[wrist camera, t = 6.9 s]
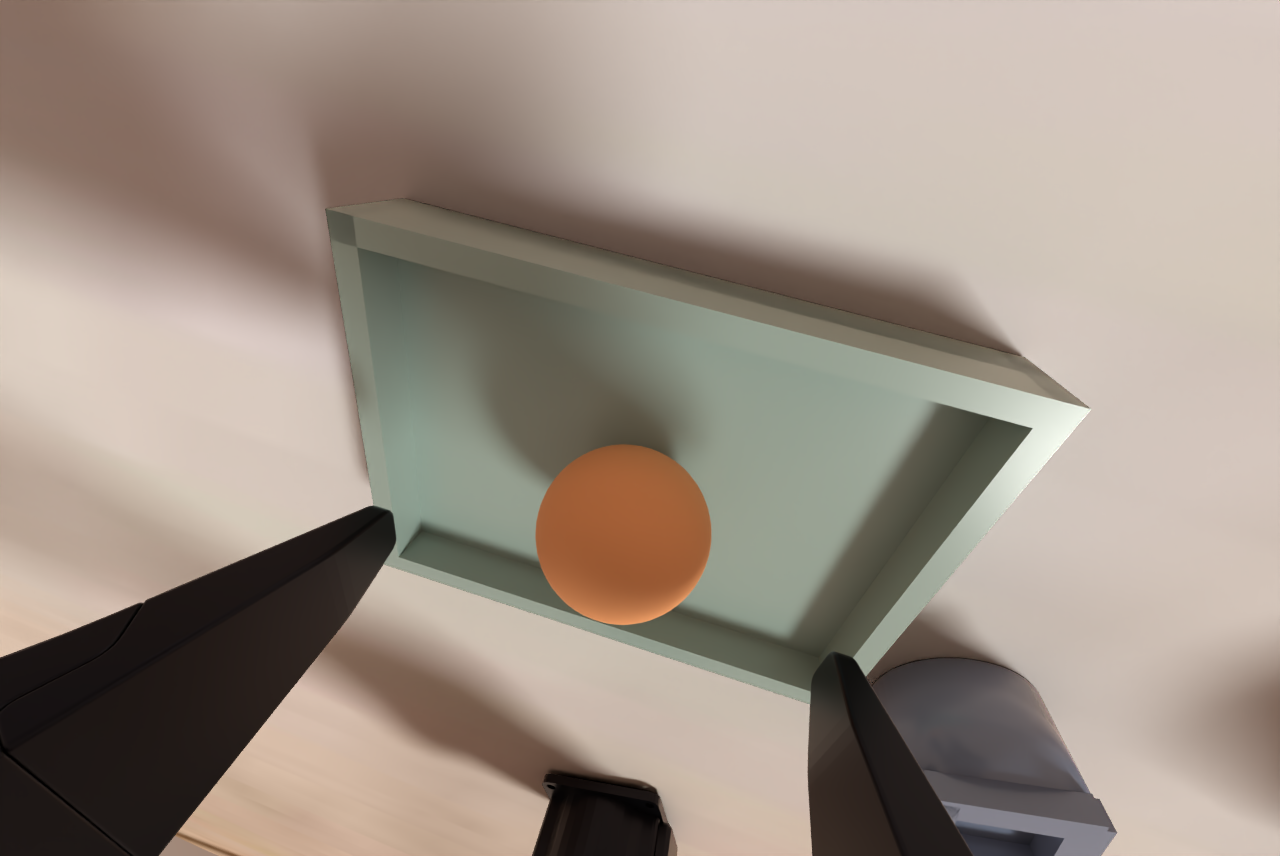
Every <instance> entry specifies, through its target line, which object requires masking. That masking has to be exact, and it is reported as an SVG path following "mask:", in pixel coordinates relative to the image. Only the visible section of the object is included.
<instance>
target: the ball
mask: <svg viewBox="0 0 1280 856" xmlns="http://www.w3.org/2000/svg"><path fill="white" fill-rule="evenodd" d="M535 539H536V549H537V555H538V558H539V562H540V565H541V568H542V571H543V573H544V575H545V577H546V579H547V581H548V582H549V584H550V586H551V587H552V589H553V590H554V591H555V592H556V594H557V595H558V596H559V597H560V598H561V599H562V600H563V601H564V602H565V603H566V604H567V605H568V606H570V607H571V608H572V609H574V610H575V611H577V612H579V613H580V614H582V615H584V616H586V617H588V618H591V619H593V620H596V621H600V622H603V623H608V624H615V625H630V624H637V623H643V622H647V621H650V620H652V619H655V618H657V617H659V616H662V615H664V614H666V613H667V612H669V611H670V610H672V609H673V608H675V607H676V606H677V605H679V604H680V603H681V602H682V601H683V600H684V599H685V598H686V597H687V596H688V595H689V594H690V593H691V591H692V590H693V589H694V587H695V586H696V584H697V583H698V581H699V579H700V578H701V576H702V574H703V572H704V569H705V567H706V564H707V561H708V558H709V553H710V547H711V520H710V515H709V510H708V507H707V504H706V501H705V499H704V496H703V494H702V492H701V490H700V488H699V487H698V485H697V484H696V482H695V481H694V480H693V478H692V477H691V476H690V474H689V473H688V472H687V471H686V470H685V469H684V468H683V467H682V466H681V465H679V464H678V463H677V462H676V461H674V460H673V459H671V458H670V457H668V456H666V455H664V454H662V453H660V452H658V451H656V450H653V449H650V448H647V447H643V446H637V445H628V444H619V445H610V446H606V447H601V448H598V449H595V450H592V451H590V452H588V453H586V454H584V455H582V456H580V457H578V458H577V459H575V460H574V461H572V462H571V463H570V464H569V465H567V466H566V467H565V468H564V469H563V470H562V471H561V472H560V473H559V474H558V475H557V477H556V478H555V479H554V481H553V482H552V483H551V485H550V486H549V488H548V489H547V491H546V494H545V496H544V498H543V500H542V502H541V505H540V508H539V512H538V516H537V521H536V534H535Z"/></svg>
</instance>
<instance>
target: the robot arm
mask: <svg viewBox="0 0 1280 856" xmlns="http://www.w3.org/2000/svg"><path fill="white" fill-rule="evenodd" d="M395 544H396V530H395V523H394V516H393V513H392V512H391V511H390V510H388V509H384V508H381V507H378V506H368V507H366V508H363V509H361V510H359V511H356V512H354V513H351V514H349V515H347V516H344V517H342V518H340V519H337V520H335V521H332V522H330V523H328V524H325V525H323V526H321V527H318V528H316V529H313V530H311V531H309V532H306V533H304V534H302V535H299V536H297V537H294V538H292V539H290V540H287V541H285V542H283V543H280V544H278V545H275V546H273V547H271V548H268V549H266V550H264V551H261V552H259V553H256V554H254V555H252V556H249V557H247V558H245V559H242V560H240V561H237V562H235V563H233V564H230V565H228V566H226V567H223V568H221V569H218V570H216V571H214V572H211V573H209V574H207V575H204V576H202V577H199V578H197V579H195V580H192V581H190V582H188V583H185V584H183V585H180V586H178V587H176V588H173V589H171V590H169V591H166V592H164V593H161V594H159V595H157V596H154V597H152V598H150V599H147V600H146V601H145V602H144V603H137V604H135V605H133V606H130V607H128V608H125V609H123V610H121V611H118V612H116V613H114V614H111V615H109V616H106V617H104V618H101V619H99V620H96V621H94V622H92V623H89V624H87V625H84V626H82V627H79V628H77V629H74V630H72V631H69V632H67V633H64V634H62V635H59V636H56V637H54V638H51V639H48V640H46V641H43V642H41V643H38V644H35V645H33V646H30V647H27V648H25V649H22V650H19V651H17V652H14V653H11V654H9V655H6V656H3V657H0V856H159V855H160V853H161V852H162V851H163V850H164V848H165V847H166V846H167V845H168V843H169V842H170V841H171V840H172V838H173V837H174V836H175V835H176V833H177V832H178V831H179V830H180V828H181V827H182V826H183V825H184V823H185V822H186V821H187V820H188V818H189V817H190V816H191V815H192V813H193V812H194V811H195V810H196V808H197V807H198V806H199V805H200V803H201V802H202V801H203V800H204V798H205V797H206V796H207V795H208V793H209V792H210V791H211V789H212V788H213V787H214V786H215V784H216V783H217V782H218V781H219V779H220V778H221V777H222V776H223V774H224V773H225V772H226V771H227V769H228V768H229V767H230V766H231V764H232V763H233V762H234V761H235V759H236V758H237V757H238V756H239V754H240V753H241V752H242V751H243V749H244V748H245V747H246V746H247V744H248V743H249V742H250V741H251V739H252V738H253V737H254V736H255V734H256V733H257V732H258V731H259V729H260V728H261V727H262V726H263V724H264V723H265V722H266V721H267V719H268V718H269V717H270V716H271V714H272V713H273V712H274V710H275V709H276V708H277V707H278V705H279V704H280V703H281V702H282V700H283V699H284V698H285V697H286V695H287V694H288V693H289V692H290V690H291V689H292V688H293V687H294V685H295V684H296V683H297V682H298V680H299V679H300V678H301V677H302V675H303V674H304V673H305V672H306V670H307V669H308V668H309V667H310V665H311V664H312V663H313V662H314V660H315V659H316V658H317V657H318V655H319V654H320V653H321V652H322V650H323V649H324V648H325V647H326V645H327V644H328V643H329V642H330V640H331V639H332V638H333V636H334V635H335V634H336V633H337V631H338V630H339V629H340V628H341V626H342V625H343V624H344V623H345V621H346V620H347V619H348V617H349V616H350V615H351V613H352V612H353V610H354V609H355V607H356V606H357V604H358V603H359V601H360V600H361V598H362V597H363V595H364V594H365V592H366V590H367V589H368V587H369V586H370V584H371V583H372V581H373V580H374V578H375V577H376V575H377V573H378V572H379V570H380V569H381V567H382V566H383V564H384V563H385V561H386V560H387V558H388V557H389V555H390V553H391V552H392V550H393V549H394V546H395ZM542 785H543V787H544V789H545V791H546V793H547V795H548V797H549V799H550V802H549V805H548V808H547V811H546V814H545V817H544V820H543V823H542V826H541V829H540V833H539V836H538V839H537V842H536V845H535V848H534V851H533V854H532V856H677V845H676V841H675V838H674V835H673V831H672V828H671V827H670V825H669V823H668V822H667V819H666V815H665V812H664V809H663V805H662V802H661V799H660V797H659V796H658V795H657V794H655V793H653V792H649V791H643V790H638V789H632V788H627V787H621V786H616V785H610V784H604V783H599V782H593V781H588V780H582V779H577V778H571V777H566V776H560V775H554V774H546V775H545V777H544V780H543V783H542ZM808 791H809V807H810V823H811V839H812V855H813V856H974V855H973V853H972V852H971V850H970V848H969V847H968V845H967V843H966V842H965V840H964V838H963V837H962V835H961V833H960V832H959V830H958V829H957V827H956V825H955V824H954V822H953V820H952V819H951V817H950V815H949V814H948V812H947V810H946V809H945V807H944V805H943V804H942V802H941V800H940V799H939V797H938V795H937V794H936V792H935V790H934V789H933V787H932V785H931V784H930V782H929V780H928V779H927V777H926V775H925V774H924V772H923V771H922V769H921V767H920V766H919V764H918V762H917V761H916V759H915V757H914V756H913V754H912V752H911V751H910V749H909V747H908V746H907V744H906V742H905V741H904V739H903V737H902V736H901V734H900V732H899V731H898V729H897V727H896V726H895V724H894V722H893V721H892V719H891V717H890V716H889V714H888V713H887V711H886V709H885V708H884V706H883V704H882V703H881V701H880V699H879V698H878V696H877V694H876V693H875V691H874V689H873V688H872V686H871V684H870V683H869V681H868V679H867V678H866V676H865V674H864V673H863V671H862V669H861V668H860V666H859V664H858V663H857V661H856V660H855V659H854V658H852V657H851V656H848V655H845V654H842V653H839V652H835V651H832V652H829V653H828V655H827V656H826V657H825V659H824V660H823V661H822V663H821V664H820V666H819V667H818V668H817V670H816V671H815V673H814V675H813V677H812V681H811V695H810V719H809V743H808Z"/></svg>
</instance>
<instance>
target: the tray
mask: <svg viewBox="0 0 1280 856" xmlns="http://www.w3.org/2000/svg"><path fill="white" fill-rule="evenodd" d="M325 210H326V216H327V222H328V228H329V234H330V241H331V247H332V253H333V259H334V265H335V271H336V277H337V284H338V290H339V296H340V302H341V308H342V314H343V320H344V327H345V333H346V339H347V345H348V351H349V357H350V364H351V370H352V376H353V382H354V388H355V394H356V400H357V407H358V413H359V419H360V425H361V431H362V437H363V443H364V450H365V456H366V462H367V468H368V474H369V480H370V487H371V493H372V499H373V505H374V506H378V507H381V508H384V509H388V510H390V511H391V512H392V513H393V516H394V523H395V530H396V544H395V546H394V549H393V550H392V552H391V553H390V555H389V557H388V558H387V560H386V561H385V563H384V565H387V566H390V567H393V568H396V569H400V570H403V571H406V572H409V573H412V574H415V575H418V576H421V577H424V578H427V579H430V580H433V581H436V582H439V583H442V584H445V585H448V586H451V587H454V588H457V589H460V590H463V591H466V592H470V593H473V594H476V595H479V596H482V597H485V598H488V599H491V600H494V601H497V602H500V603H503V604H506V605H509V606H512V607H515V608H518V609H521V610H524V611H527V612H530V613H533V614H536V615H540V616H543V617H546V618H549V619H552V620H555V621H558V622H561V623H564V624H567V625H570V626H573V627H576V628H579V629H582V630H585V631H588V632H591V633H594V634H597V635H600V636H603V637H606V638H610V639H613V640H616V641H619V642H622V643H625V644H628V645H631V646H634V647H637V648H640V649H643V650H646V651H649V652H652V653H655V654H658V655H661V656H664V657H667V658H670V659H673V660H676V661H680V662H683V663H686V664H689V665H692V666H695V667H698V668H701V669H704V670H707V671H710V672H713V673H716V674H719V675H722V676H725V677H728V678H731V679H734V680H737V681H740V682H743V683H746V684H750V685H753V686H756V687H759V688H762V689H765V690H768V691H771V692H774V693H777V694H780V695H783V696H786V697H789V698H792V699H795V700H798V701H801V702H804V703H807V704H810V695H811V681H812V677H813V675H814V673H815V671H816V670H817V668H818V667H819V666H820V664H821V663H822V661H823V660H824V659H825V657H826V656H827V655H828V653H829V652H832V651H835V652H839V653H842V654H845V655H848V656H851V657H852V658H854V659H855V660H856V661H857V663H858V664H859V666H860V668H861V669H862V671H863V673H864V674H865V676H867V674H868V673H869V672H870V671H871V670H872V669H873V667H874V666H875V665H876V664H877V663H878V661H879V660H880V659H881V658H882V657H883V656H884V654H885V653H886V652H887V651H888V650H889V648H890V647H891V646H892V645H893V644H894V643H895V641H896V640H897V639H898V638H899V637H900V635H901V634H902V633H903V632H904V631H905V629H906V628H907V627H908V626H909V625H910V624H911V622H912V621H913V620H914V619H915V618H916V616H917V615H918V614H919V613H920V612H921V611H922V609H923V608H924V607H925V606H926V605H927V603H928V602H929V601H930V600H931V599H932V598H933V596H934V595H935V594H936V593H937V592H938V590H939V589H940V588H941V587H942V586H943V584H944V583H945V582H946V581H947V580H948V579H949V577H950V576H951V575H952V574H953V573H954V571H955V570H956V569H957V568H958V567H959V566H960V564H961V563H962V562H963V561H964V560H965V558H966V557H967V556H968V555H969V554H970V553H971V551H972V550H973V549H974V548H975V547H976V545H977V544H978V543H979V542H980V541H981V539H982V538H983V537H984V536H985V535H986V534H987V532H988V531H989V530H990V529H991V528H992V526H993V525H994V524H995V523H996V522H997V521H998V519H999V518H1000V517H1001V516H1002V515H1003V513H1004V512H1005V511H1006V510H1007V509H1008V508H1009V506H1010V505H1011V504H1012V503H1013V502H1014V500H1015V499H1016V498H1017V497H1018V496H1019V495H1020V493H1021V492H1022V491H1023V490H1024V489H1025V487H1026V486H1027V485H1028V484H1029V483H1030V481H1031V480H1032V479H1033V478H1034V477H1035V476H1036V474H1037V473H1038V472H1039V471H1040V470H1041V468H1042V467H1043V466H1044V465H1045V464H1046V463H1047V461H1048V460H1049V459H1050V458H1051V457H1052V455H1053V454H1054V453H1055V452H1056V451H1057V450H1058V448H1059V447H1060V446H1061V445H1062V444H1063V442H1064V441H1065V440H1066V439H1067V438H1068V436H1069V435H1070V434H1071V433H1072V432H1073V431H1074V429H1075V428H1076V427H1077V426H1078V425H1079V423H1080V422H1081V421H1082V420H1083V419H1084V418H1085V416H1086V415H1087V414H1088V413H1089V412H1090V410H1091V409H1090V408H1089V407H1088V406H1087V405H1085V404H1084V403H1083V402H1081V401H1080V400H1079V399H1078V398H1076V397H1075V396H1074V395H1073V394H1071V393H1070V392H1069V391H1067V390H1066V389H1065V388H1064V387H1062V386H1061V385H1060V384H1058V383H1057V382H1056V381H1055V380H1053V379H1052V378H1051V377H1049V376H1048V375H1047V374H1046V373H1044V372H1043V371H1042V370H1040V369H1039V368H1038V367H1037V366H1035V365H1034V364H1033V363H1032V362H1030V361H1029V360H1028V359H1026V358H1025V357H1022V356H1018V355H1014V354H1010V353H1006V352H1002V351H998V350H994V349H991V348H987V347H983V346H979V345H975V344H971V343H967V342H963V341H959V340H955V339H951V338H948V337H944V336H940V335H936V334H932V333H928V332H924V331H920V330H916V329H912V328H908V327H905V326H901V325H897V324H893V323H889V322H885V321H881V320H877V319H873V318H869V317H866V316H862V315H858V314H854V313H850V312H846V311H842V310H838V309H834V308H830V307H826V306H823V305H819V304H815V303H811V302H807V301H803V300H799V299H795V298H791V297H787V296H783V295H780V294H776V293H772V292H768V291H764V290H760V289H756V288H752V287H748V286H744V285H740V284H737V283H733V282H729V281H725V280H721V279H717V278H713V277H709V276H705V275H701V274H697V273H694V272H690V271H686V270H682V269H678V268H674V267H670V266H666V265H662V264H658V263H655V262H651V261H647V260H643V259H639V258H635V257H631V256H627V255H623V254H619V253H615V252H612V251H608V250H604V249H600V248H596V247H592V246H588V245H584V244H580V243H576V242H572V241H569V240H565V239H561V238H557V237H553V236H549V235H545V234H541V233H537V232H533V231H529V230H526V229H522V228H518V227H514V226H510V225H506V224H502V223H498V222H494V221H490V220H487V219H483V218H479V217H475V216H471V215H467V214H463V213H459V212H455V211H451V210H447V209H444V208H440V207H436V206H432V205H428V204H424V203H420V202H416V201H412V200H408V199H404V198H401V199H394V200H386V201H379V202H371V203H364V204H356V205H349V206H341V207H334V208H326V209H325ZM619 444H628V445H637V446H643V447H647V448H650V449H653V450H656V451H658V452H660V453H662V454H664V455H666V456H668V457H670V458H671V459H673V460H674V461H676V462H677V463H678V464H679V465H681V466H682V467H683V468H684V469H685V470H686V471H687V472H688V473H689V474H690V476H691V477H692V478H693V480H694V481H695V482H696V484H697V485H698V487H699V488H700V490H701V492H702V494H703V496H704V499H705V501H706V504H707V507H708V510H709V515H710V520H711V547H710V553H709V558H708V561H707V564H706V567H705V569H704V572H703V574H702V576H701V578H700V579H699V581H698V583H697V584H696V586H695V587H694V589H693V590H692V591H691V593H690V594H689V595H688V596H687V597H686V598H685V599H684V600H683V601H682V602H681V603H680V604H679V605H677V606H676V607H675V608H673V609H672V610H670V611H669V612H667V613H666V614H664V615H662V616H659V617H657V618H655V619H652V620H650V621H647V622H643V623H637V624H630V625H615V624H608V623H603V622H600V621H596V620H593V619H591V618H588V617H586V616H584V615H582V614H580V613H579V612H577V611H575V610H574V609H572V608H571V607H570V606H568V605H567V604H566V603H565V602H564V601H563V600H562V599H561V598H560V597H559V596H558V595H557V594H556V592H555V591H554V590H553V589H552V587H551V586H550V584H549V582H548V581H547V579H546V577H545V575H544V573H543V571H542V568H541V565H540V562H539V558H538V555H537V549H536V539H535V534H536V521H537V516H538V512H539V508H540V505H541V502H542V500H543V498H544V496H545V494H546V491H547V489H548V488H549V486H550V485H551V483H552V482H553V481H554V479H555V478H556V477H557V475H558V474H559V473H560V472H561V471H562V470H563V469H564V468H565V467H566V466H567V465H569V464H570V463H571V462H572V461H574V460H575V459H577V458H578V457H580V456H582V455H584V454H586V453H588V452H590V451H592V450H595V449H598V448H601V447H606V446H610V445H619Z"/></svg>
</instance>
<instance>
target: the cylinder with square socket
mask: <svg viewBox="0 0 1280 856" xmlns="http://www.w3.org/2000/svg"><path fill="white" fill-rule="evenodd" d="M872 688H873V689H874V691H875V693H876V694H877V696H878V698H879V699H880V701H881V703H882V704H883V706H884V708H885V709H886V711H887V713H888V714H889V716H890V717H891V719H892V721H893V722H894V724H895V726H896V727H897V729H898V731H899V732H900V734H901V736H902V737H903V739H904V741H905V742H906V744H907V746H908V747H909V749H910V751H911V752H912V754H913V756H914V757H915V759H916V761H917V762H918V764H919V766H920V767H921V769H922V771H923V772H924V774H925V775H926V777H927V779H928V780H929V782H930V784H931V785H932V787H933V789H934V790H935V792H936V794H937V795H938V797H939V799H940V800H941V802H942V804H943V805H944V807H945V809H946V810H947V812H948V814H949V815H950V817H951V819H952V820H953V822H954V824H955V825H956V827H957V829H958V830H959V832H960V833H961V835H962V837H963V838H964V840H965V842H966V843H967V845H968V847H969V848H970V850H971V852H972V853H973V855H974V856H1101V855H1102V854H1103V852H1104V851H1105V849H1106V848H1107V847H1108V845H1109V844H1110V842H1111V841H1112V839H1113V838H1114V837H1115V835H1116V834H1117V832H1116V830H1115V828H1114V826H1113V824H1112V822H1111V820H1110V818H1109V816H1108V815H1107V813H1106V811H1105V809H1104V807H1103V805H1102V803H1101V801H1100V799H1095V798H1094V797H1093V795H1092V794H1091V793H1090V791H1089V789H1088V787H1087V786H1086V784H1085V782H1084V780H1083V778H1082V776H1081V774H1080V772H1079V770H1078V768H1077V766H1076V764H1075V762H1074V760H1073V758H1072V756H1071V754H1070V752H1069V751H1068V749H1067V747H1066V745H1065V743H1064V741H1063V739H1062V737H1061V735H1060V733H1059V731H1058V729H1057V727H1056V725H1055V723H1054V721H1053V719H1052V717H1051V716H1050V714H1049V712H1048V710H1047V708H1046V706H1045V704H1044V702H1043V700H1042V698H1041V696H1040V694H1039V692H1038V691H1037V690H1036V688H1035V687H1034V686H1033V685H1032V684H1031V683H1030V682H1029V681H1027V680H1026V679H1025V678H1023V677H1022V676H1020V675H1019V674H1017V673H1015V672H1013V671H1011V670H1008V669H1006V668H1003V667H1001V666H998V665H994V664H991V663H987V662H982V661H977V660H970V659H959V658H937V659H927V660H922V661H916V662H912V663H908V664H905V665H902V666H900V667H897V668H895V669H893V670H891V671H889V672H887V673H886V674H884V675H883V676H881V677H880V678H879V679H878V680H877V681H876V682H875V683H874V684H873V686H872Z"/></svg>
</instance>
